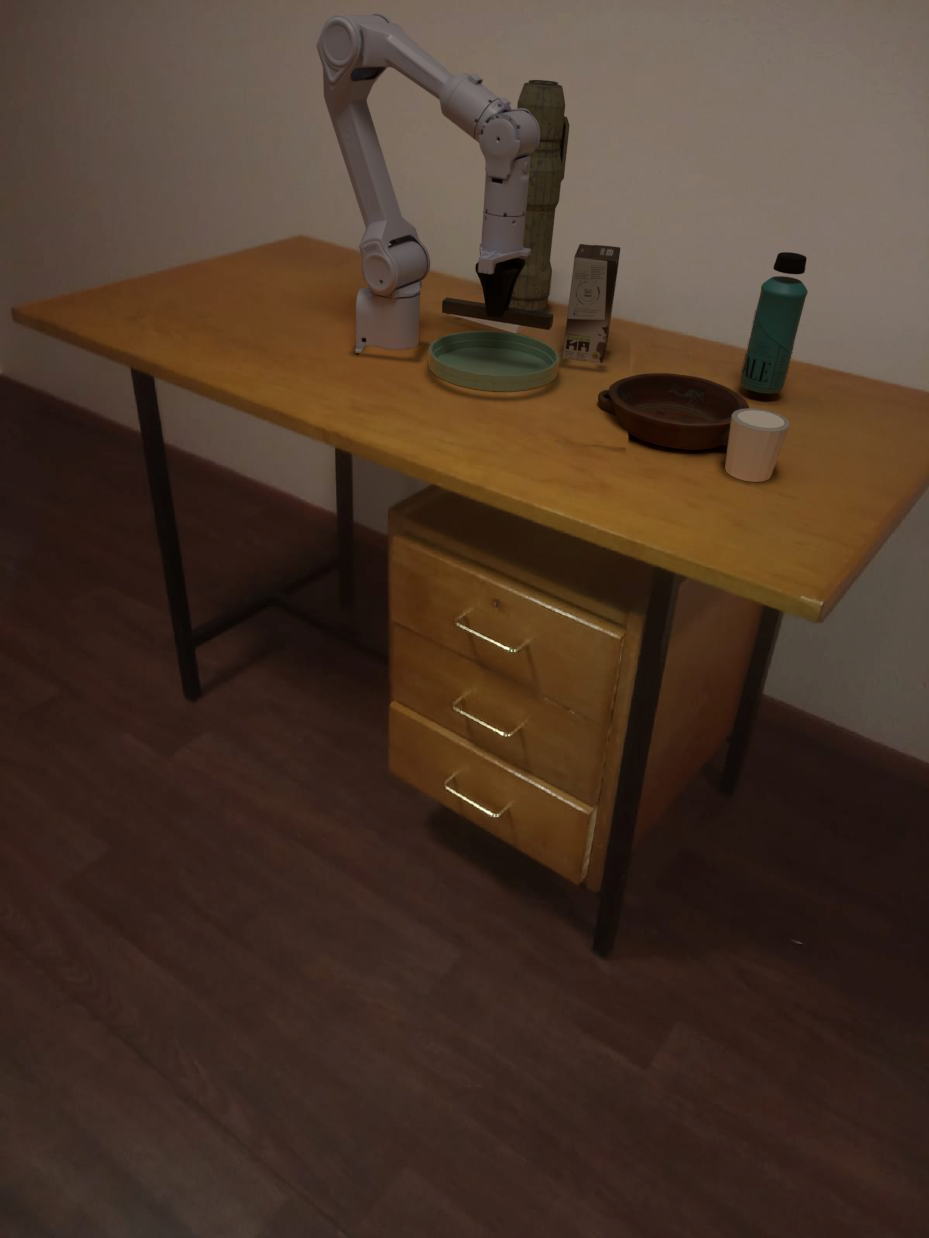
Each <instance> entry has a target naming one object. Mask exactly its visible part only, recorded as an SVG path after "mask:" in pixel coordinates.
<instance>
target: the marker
mask: <svg viewBox="0 0 929 1238" xmlns="http://www.w3.org/2000/svg"><path fill="white" fill-rule="evenodd" d="M444 314H445V315H447V314H446V313H444ZM449 315H450V316H454V317H457V318H461V319H464V320H467V321H470V322H475V323H478V324H482V325H485V326H489V327H492V328H495V329H499V330H502V331H506V332H508V333H513V334H517V333H520V332H522V331H524V326H520V325H514V324H508V323H502V322H496V321H490V320H483V319H477V318H471V317H465V316H459V315H452V314H449Z"/></svg>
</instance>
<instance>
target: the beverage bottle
mask: <svg viewBox="0 0 929 1238" xmlns="http://www.w3.org/2000/svg"><path fill="white" fill-rule="evenodd" d="M807 258H808V257H807V256H805V255H803V254H801V253H798V252H790V251H783V252H782V251H781V252H779V253H777V255H776V258H775V261H774V264H773V268H772V269H773V270H774V271H776V272H778V273H782V274H786V275H803V274H805V272H806V266H807ZM808 293H809V292H808V289H807V287H806V285H805V284H804V282H803V281H801V280H800V279H798V278H795V277H791V276H785V275H784V276H782V275H779V276H778V275H775V276H772V277H769V279H767V280H766V281H764V282H763V283H762V284H761V286H760V293H759V298H758V301H757V303H756V305H757V306H756V305H755V306H756V308H755V310H754V313H753V318H752V322H751V327H752V328H751V330H750V332H749V333H750V336H749V338H748V343H747V344H746V345H747V350H746V352H745V354H744V358H743V359H744V360H742V361H743V362H742V366H741V372H740V385H741V386H742V387H743V388H744V389H746V390H749V391H752V392H755V393H759V394H760V393H761V394H777V393H780V392H782V390H783V388H784V386H785V384H786V381H787V378H788V374H789V369H790V364H791V359H792V356H793V354H794V352H793V350H794V347H795V340H796V337H797V333H798V329H799V325H800V322H801V317H802V315H803V314H802V313H803V309H804V305H805V302H806V298H807V295H808Z"/></svg>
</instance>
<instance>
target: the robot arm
mask: <svg viewBox="0 0 929 1238" xmlns="http://www.w3.org/2000/svg"><path fill="white" fill-rule="evenodd" d="M320 31H321V32H320V35H319V37H318V40H317V42H316V45H315V48H316V50H317V54H318V56H319V58H320V63H321V66H322V79H323V80H322V82H323V98H324V102H325V105H326V108H327V112H328V115H329V118H330V121H331V124H332V127H333V131H334V133H335V136H336V139H337V142H338V146H339V149H340V152H341V155H342V158H343V162H344V165H345V168H346V170H347V174H348V176H349V180H350V183H351V186H352V189H353V193H354V196H355V199H356V202H357V205H358V208H359V211H360V214H361V218H362V221H363V224H364V227H365V230H364V233H363V235H362V237H361V240H360V242H359V244H358V248H359V253H360V256H361V273H362V277H363V280H364V282H365V285H367V287H360V288H359V290H358V293H357V296H356V302H355V349H354V353H355V354H359V355H360V354H361V353H362V351H363V349H364V348H365V347H372V348H378V349H383V350H387V351H388V350H389V351H407V350H412V349H414V348H417V347H418V346H419V344H420V342H419V341H420V315H421V289H422V288H423V287H422V286H423V284H422V283H423V280H425V279H426V278H427V276H428V275H429V273H430V269H431V257H430V253H429V251H428V249H427V248H426V246H425V244H423V242H422V241H421V239H420V237H419V236H418V235H419V234H418V232H417V229H416V228H415V226H414V225H412V224H411V223H410V222H409V221H408V220H406V219H405V218H404V217H403V215H402V212H401V209H400V206H399V202H398V199H397V196H396V193H395V190H394V187H393V183H392V180H391V177H390V173H389V170H388V166H387V164H386V160H385V157H384V153H383V150H382V147H381V144H380V140H379V137H378V134H377V131H376V127H375V124H374V121H373V117H372V115H371V111H370V107H369V104H368V98H369V95H370V93H371V91H372V88H373V86H374V84H376V82H377V81H378V80H379V78H380V77H381V76H382V75H383V74H384V73H385V71H386V70H387V69H388V68H391V69H394V70H395V71H397V72H398V73H400V74H401V75H402V76H404V77H406V78H407V79H408V80H410V81H412V82H413V83H414V84H416V85H417V86H419V87H420V88H422V89H423V90H424V91H426V92H427V93H428V94H430V95H432V96H433V97H434V98H436V99H437V100H438V101H439V104H440V105H439V107H440V111H441V114H442V115H443V117H445V118H446V119H448V120H449V121H450V122H451V123H453V124H454V125H455V126H456V127H458V128H459V129H460V130H462V131H463V132H464V133H465V134H467V135H468V136H469V137H471V139H473V140H474V141H476V142H477V143H478V145H479V149H480V151H481V153H482V155H483V158H484V159H485V160H484V162H485V165H484V171H485V179H484V195H483V196H484V197H483V211H482V225H481V226H482V227H481V241H480V244H479V251H478V252H479V257H478V262H477V263H475V267H474V270H475V273H476V275H477V277H478V279H479V282H480V285H481V289H482V293H483V299H484V303H485V307H486V313H487V316H491V317H497V318H501V317H502V315H503V312H504V309H505V307H509V304H510V301H511V297H512V293H513V290H514V287H515V284H516V281H517V279H518V276H519V274H520V272H521V271H522V269H523V267H524V266H525V260H524V259H521V258H517V257H520V256H523V257H528V256H529V255H531V249H529V248H524V246H523V240H524V229H525V217H526V206H527V195H528V183H529V171H530V159H531V156H530V155H532V154H533V153H534V152H535V150H536V149H537V147H538V144H539V141H540V128H539V125H538V123H537V121H536V119H535V118H534V117H533V115H531V113H530V112H529V110H527V109H523V108H518V109H517V108H514V109H513V108H512V106H511V101H510V100H509V99H507V97H502V98H501V97H499V96H498V95H497V94H495V93H494V92H492V90H490V89H488V88H487V87H486V86H485V85H483V81H484V79H483V78H482V77H481V76H480V75H479V74H477V73H472V74H469V73H467V72H463V73H460V74H457V75H454V74H453V73H452V72H450V71H449V69H447V68H446V67H445V66H444V65H443V64H442V63H440V62H439V61H438V60H437V59H436V58H434V57H433V56H432V55H431V54H430V53H429V52H428V51H426V50H425V49H424V48H423V47H422V46H421V45H420V44H418V43H417V42H416V41H415V40H414V39H413V38H412V37H410V36H409V35H408V34H407V33H406V32H405V30H404V29H403V27H402V26H401V25H400V24H397V23H395V22H392V21H391V20H390V18H389V17H387V16H386V15H384V14H382V13H372V14H365V15H364V14H358V15H357V14H355V15H352V14H351V15H350V14H349V15H346V14H342V13H337V14H333V15H331V16H330V17H329V18H327V20H326V21H325V22H324V24H323V26H322V29H321V30H320ZM528 156H529V157H528ZM389 244H390V245H389Z"/></svg>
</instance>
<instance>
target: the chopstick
mask: <svg viewBox="0 0 929 1238" xmlns="http://www.w3.org/2000/svg"><path fill="white" fill-rule="evenodd" d="M441 301H442V302H441V313H442V314H445V313H446V314H445V315H450V314H452V315H451V316H453V315H459V316H465V317H471V318H477V319H483V320H490V321H496V322H502V323H508V324H514V325H520V326H523V327H528V328H532V329H539V330H545V331H550V330H551V329H552V328H553V325H554V324H553V323H554V313H549V312H537V311H530V310H524V309H518V308H511V307H505V309H504V312H503V315H502V317H501V318H497V317H491V316H487V313H486V307H485V302H479V301H472V300H466V299H460V298H453V297H445V298H443V300H441Z"/></svg>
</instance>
